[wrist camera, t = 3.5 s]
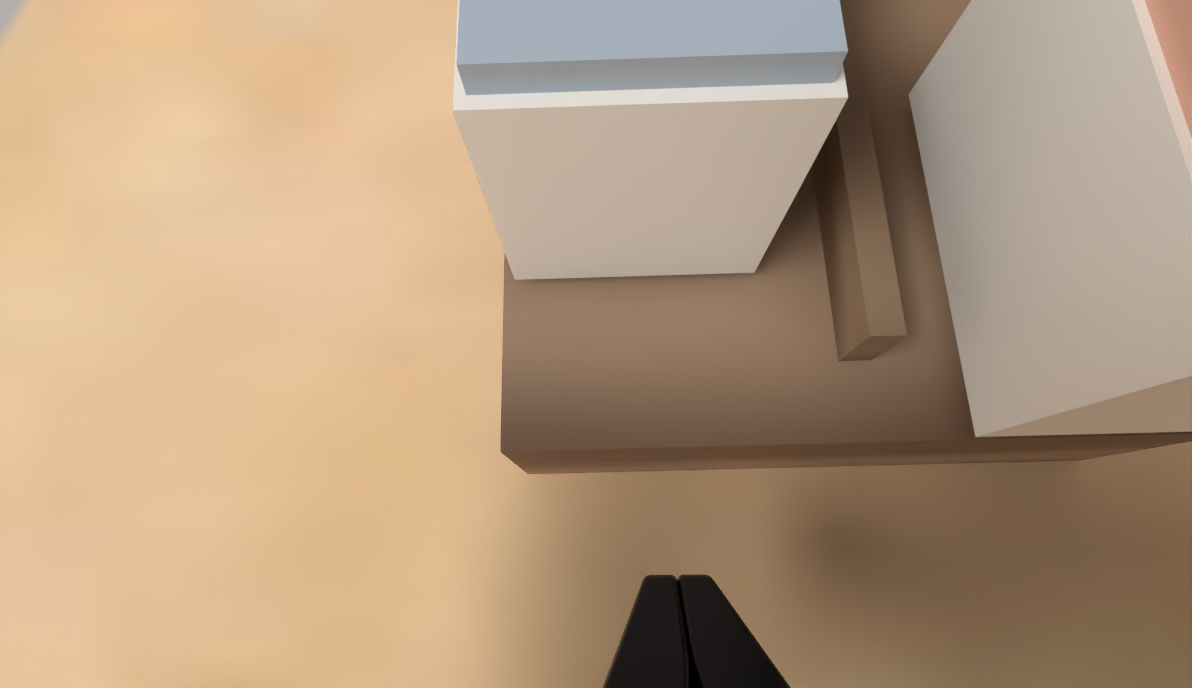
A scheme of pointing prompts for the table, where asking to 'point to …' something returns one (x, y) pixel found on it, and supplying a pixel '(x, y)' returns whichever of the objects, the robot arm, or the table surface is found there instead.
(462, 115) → the slate key
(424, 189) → the table surface
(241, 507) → the table surface
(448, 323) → the table surface
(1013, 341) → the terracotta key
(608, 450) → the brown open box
